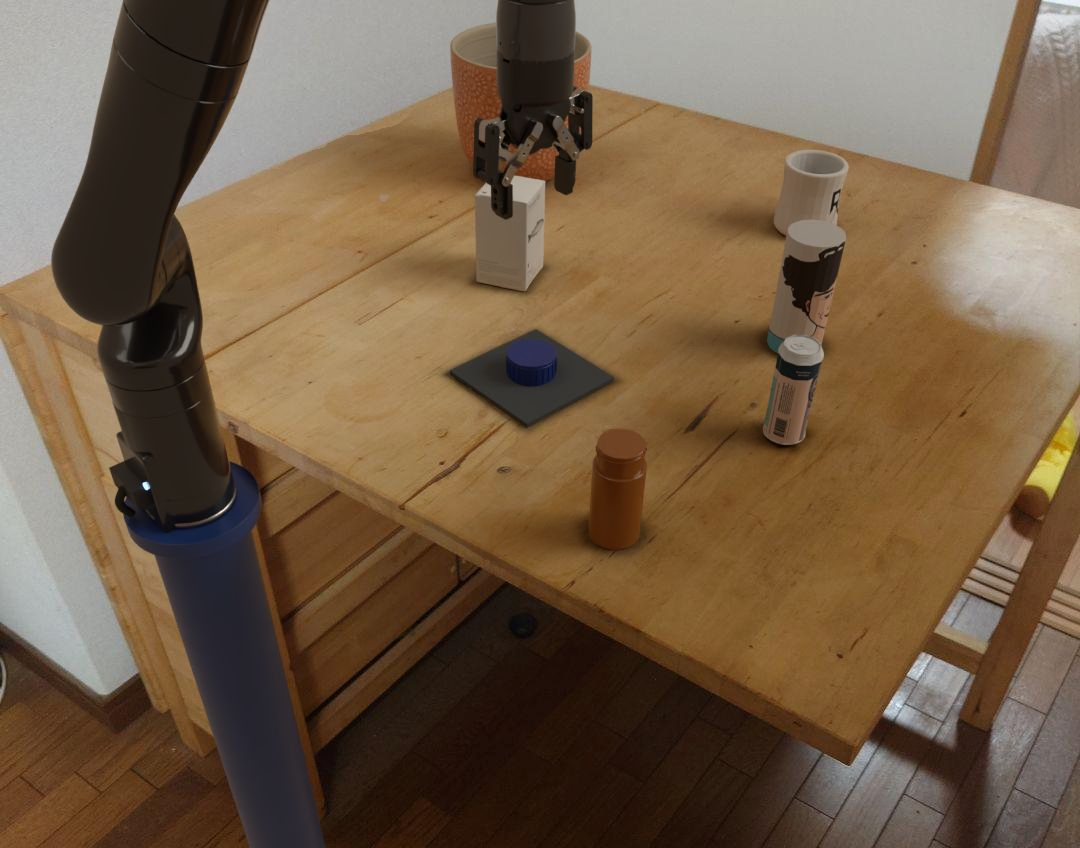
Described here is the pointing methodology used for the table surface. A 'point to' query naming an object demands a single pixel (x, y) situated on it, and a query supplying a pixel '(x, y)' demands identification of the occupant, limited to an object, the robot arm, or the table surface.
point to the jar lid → (531, 362)
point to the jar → (617, 489)
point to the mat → (531, 401)
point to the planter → (481, 97)
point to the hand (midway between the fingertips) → (533, 204)
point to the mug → (810, 188)
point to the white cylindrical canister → (806, 281)
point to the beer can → (793, 389)
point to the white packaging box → (511, 236)
